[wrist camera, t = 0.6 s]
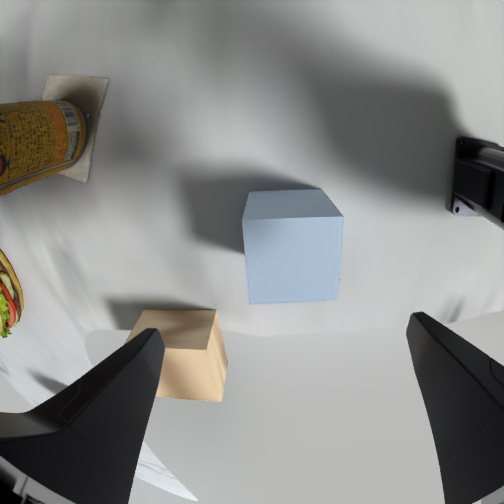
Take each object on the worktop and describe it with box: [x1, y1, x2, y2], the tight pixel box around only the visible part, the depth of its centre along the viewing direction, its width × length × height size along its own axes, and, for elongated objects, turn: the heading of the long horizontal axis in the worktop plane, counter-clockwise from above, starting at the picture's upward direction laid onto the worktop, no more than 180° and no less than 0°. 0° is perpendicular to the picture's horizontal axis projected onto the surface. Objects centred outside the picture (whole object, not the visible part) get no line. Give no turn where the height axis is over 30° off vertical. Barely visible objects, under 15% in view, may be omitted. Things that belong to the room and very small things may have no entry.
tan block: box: [125, 310, 228, 402], centre depth 23 cm, size 7×7×5 cm
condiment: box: [0, 75, 109, 196], centre depth 11 cm, size 7×8×12 cm
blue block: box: [242, 189, 344, 304], centre depth 17 cm, size 5×5×6 cm
